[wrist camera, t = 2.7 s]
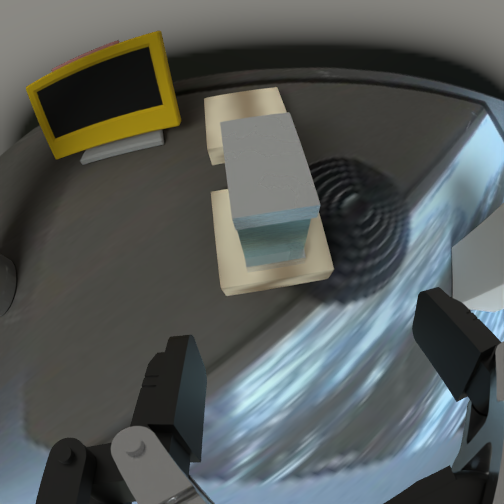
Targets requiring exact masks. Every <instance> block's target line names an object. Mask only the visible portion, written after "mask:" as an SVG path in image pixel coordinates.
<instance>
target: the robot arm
mask: <svg viewBox="0 0 504 504" xmlns="http://www.w3.org/2000/svg"><path fill="white" fill-rule="evenodd" d="M15 288H16V270H15V266H14V264H13V262H12V261H11V260H10V259H8V258H6V257H5V256H3V255H1V254H0V316H2V315H3V314H4V313H5V312H6V311H7V310H8V308H9V306H10V304H11V302H12V300H13V297H14V293H15ZM412 329H413V336H414V339H415V341H416V342H417V344H418V345H419V346H420V348H421V349H422V351H423V352H424V353H425V355H426V356H427V358H428V359H429V361H430V362H431V364H432V365H433V366H434V368H435V369H436V371H437V372H438V374H439V375H440V377H441V378H442V380H443V381H444V383H445V384H446V386H447V387H448V389H449V391H450V392H451V394H452V395H453V397H454V398H455V400H456V402H457V401H459V400H461V399H463V398H465V397H467V396H468V397H469V399H470V401H469V402H468V405H467V411H466V419H465V426H464V432H463V437H462V443H461V448H460V451H459V453H458V455H457V457H456V459H455V461H454V463H453V465H452V468H451V467H450V465H449V466H448V467H446V468H444V469H442V470H440V471H438V472H436V473H434V474H432V475H430V476H428V477H426V478H423V479H421V480H419V481H417V482H415V483H414V484H413V485H411V486H410V487H408V488H407V489H405V490H404V491H403V492H401V493H400V494H398V495H397V496H395V497H393V498H392V499H390V500H389V501H387V502H386V503H384V504H504V342H502V343H501V342H500V341H499V339H498V338H497V337H496V336H495V335H494V334H493V333H492V332H491V331H490V330H489V329H488V328H487V327H486V326H485V325H484V324H483V323H482V322H481V321H480V320H479V319H477V317H476V316H475V315H474V314H473V313H471V311H470V310H469V309H468V308H467V307H466V306H465V305H464V304H463V303H462V302H460V301H458V300H456V299H454V298H452V297H449V296H448V295H447V294H446V293H445V292H444V291H443V290H442V289H441V288H439V287H436V288H433V289H429V290H426V291H422V292H420V293H419V295H418V299H417V305H416V311H415V316H414V321H413V328H412ZM206 385H207V377H206V370H205V367H204V364H203V361H202V358H201V356H200V353H199V350H198V348H197V345H196V342H195V339H194V337H193V336H192V335H183V336H173V337H170V338H169V340H168V343H167V346H166V350H165V352H161V353H157V354H156V355H155V356H154V357H153V359H152V360H151V361H150V362H149V364H148V367H147V370H146V373H145V378H144V380H143V383H142V388H141V390H140V393H139V397H138V400H137V404H136V407H135V411H134V414H133V418H132V422H131V425H130V427H128V428H126V429H124V430H122V431H120V432H119V433H118V434H117V435H116V436H115V438H114V439H113V441H112V443H108V444H102V445H97V446H91V447H86V446H84V445H83V444H82V443H81V442H80V441H79V440H77V439H75V438H65V439H62V440H60V441H58V442H57V443H56V444H55V445H54V446H53V447H52V449H51V451H50V453H49V457H48V460H47V463H46V466H45V470H44V473H43V477H42V480H41V484H40V488H39V492H38V496H37V500H36V504H132V502H134V501H137V503H138V504H215V503H214V502H213V501H212V500H211V499H210V498H209V497H208V495H207V494H206V493H205V492H204V491H203V490H202V489H201V487H200V486H199V485H198V484H197V483H196V482H195V480H194V479H193V478H192V477H191V475H190V474H189V467H190V462H201V452H202V437H203V423H204V410H205V397H206Z"/></svg>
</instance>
